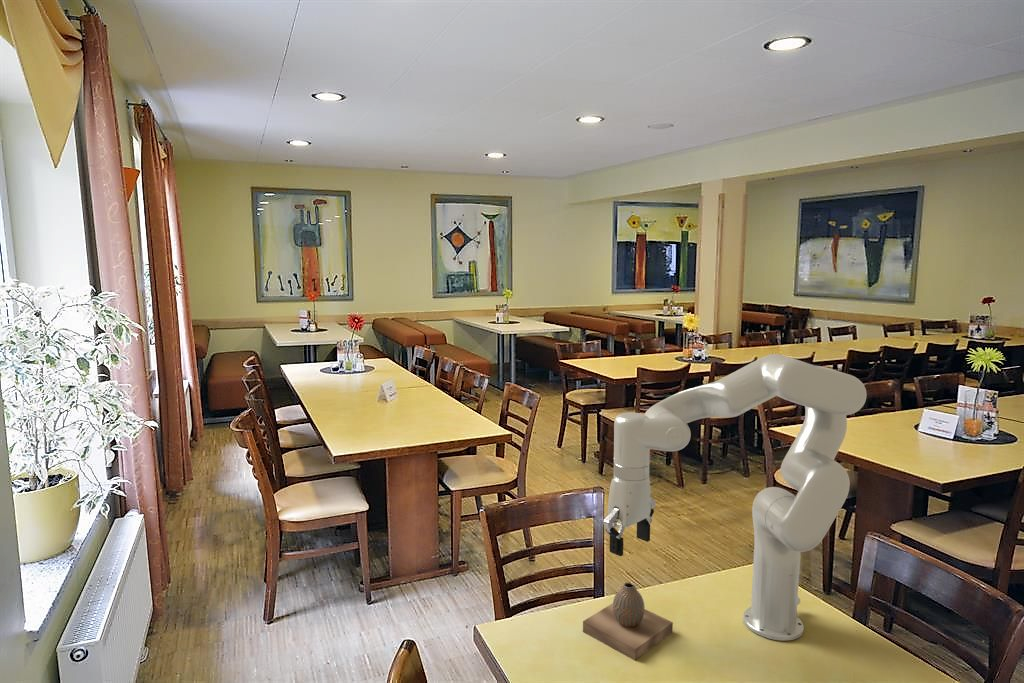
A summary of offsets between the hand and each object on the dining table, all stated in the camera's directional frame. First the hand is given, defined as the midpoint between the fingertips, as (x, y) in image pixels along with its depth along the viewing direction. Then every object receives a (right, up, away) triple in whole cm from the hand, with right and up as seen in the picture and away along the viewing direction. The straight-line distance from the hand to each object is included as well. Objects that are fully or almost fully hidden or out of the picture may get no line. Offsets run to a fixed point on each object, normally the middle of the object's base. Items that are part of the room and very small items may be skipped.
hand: (630, 546), depth 138 cm
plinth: (0, -20, +3) cm, 20 cm away
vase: (0, -18, +2) cm, 18 cm away
